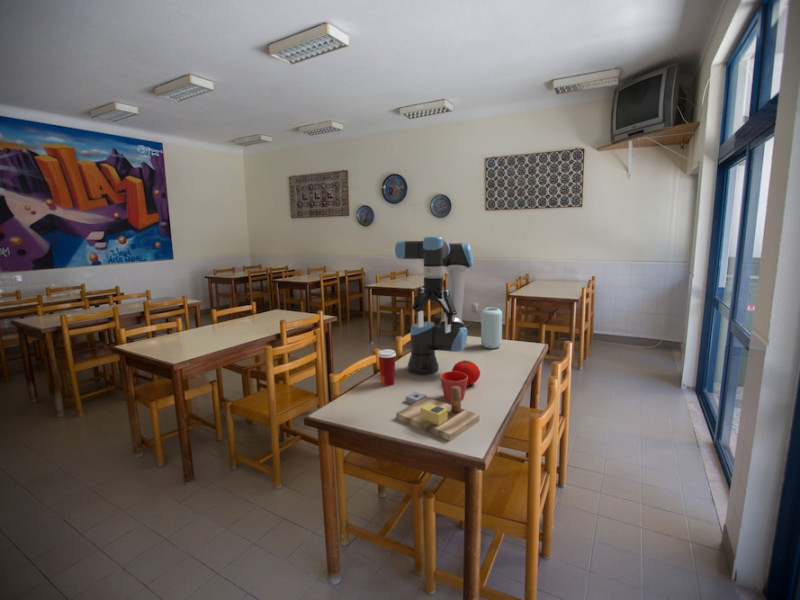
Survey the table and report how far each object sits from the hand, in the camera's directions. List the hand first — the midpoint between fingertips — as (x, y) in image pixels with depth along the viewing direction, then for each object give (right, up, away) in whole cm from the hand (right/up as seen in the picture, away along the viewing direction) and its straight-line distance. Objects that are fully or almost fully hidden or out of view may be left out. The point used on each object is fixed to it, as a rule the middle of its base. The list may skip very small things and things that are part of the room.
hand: (434, 329), depth 161 cm
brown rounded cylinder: (+7, -31, -13) cm, 34 cm away
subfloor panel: (0, -32, -14) cm, 35 cm away
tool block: (-7, -29, +1) cm, 30 cm away
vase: (+39, -15, +71) cm, 82 cm away
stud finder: (-2, -30, -19) cm, 35 cm away
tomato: (+16, -25, +18) cm, 35 cm away
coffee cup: (-19, -26, +21) cm, 38 cm away
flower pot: (+9, -28, +4) cm, 30 cm away
